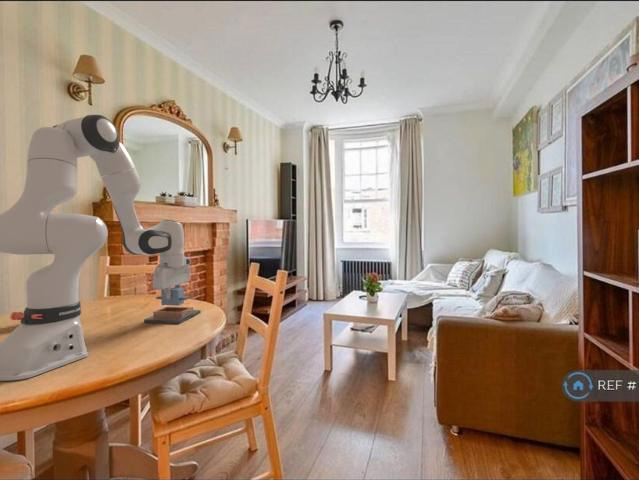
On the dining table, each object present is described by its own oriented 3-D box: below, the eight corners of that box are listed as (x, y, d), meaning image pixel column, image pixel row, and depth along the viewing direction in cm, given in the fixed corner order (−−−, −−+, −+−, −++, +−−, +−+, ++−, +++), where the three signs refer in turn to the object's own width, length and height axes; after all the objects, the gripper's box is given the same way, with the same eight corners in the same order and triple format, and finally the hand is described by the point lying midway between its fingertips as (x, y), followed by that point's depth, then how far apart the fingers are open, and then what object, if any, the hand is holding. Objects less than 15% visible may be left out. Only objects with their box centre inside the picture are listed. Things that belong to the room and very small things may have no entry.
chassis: (179, 323, 123) (179, 315, 123) (144, 322, 125) (143, 314, 124) (200, 313, 138) (200, 305, 138) (169, 312, 140) (168, 304, 140)
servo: (184, 305, 129) (184, 290, 128) (155, 304, 130) (155, 289, 130) (189, 303, 133) (189, 288, 132) (161, 302, 134) (161, 287, 134)
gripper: (164, 264, 120) (164, 303, 121) (192, 259, 140) (193, 292, 141) (147, 264, 121) (148, 302, 121) (178, 259, 141) (179, 292, 142)
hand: (172, 297), depth 131 cm, fingers closed on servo, 4 cm apart
